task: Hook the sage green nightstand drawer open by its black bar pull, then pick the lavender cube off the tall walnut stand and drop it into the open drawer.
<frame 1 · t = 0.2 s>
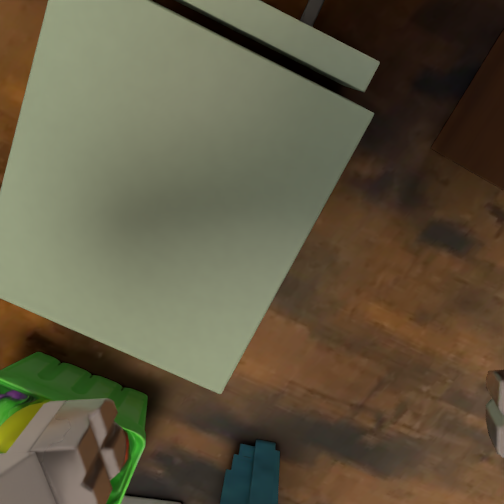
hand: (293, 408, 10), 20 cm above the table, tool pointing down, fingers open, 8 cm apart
drawer: (212, 103, 22), point 5 cm above the table, slide at 0.5 cm
handheld gaming console: (249, 480, 37), on the table
sage green nightstand: (198, 166, 28), on the table
fruit basket: (87, 389, 36), on the table
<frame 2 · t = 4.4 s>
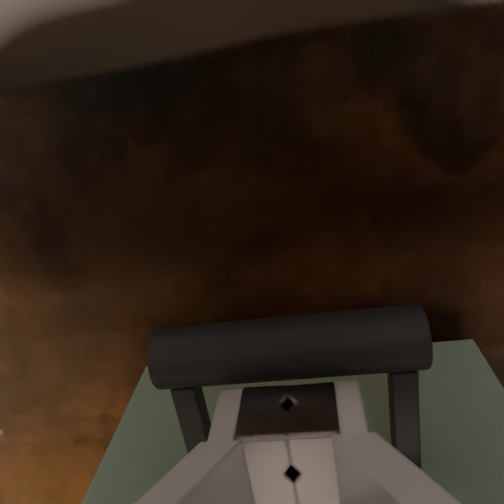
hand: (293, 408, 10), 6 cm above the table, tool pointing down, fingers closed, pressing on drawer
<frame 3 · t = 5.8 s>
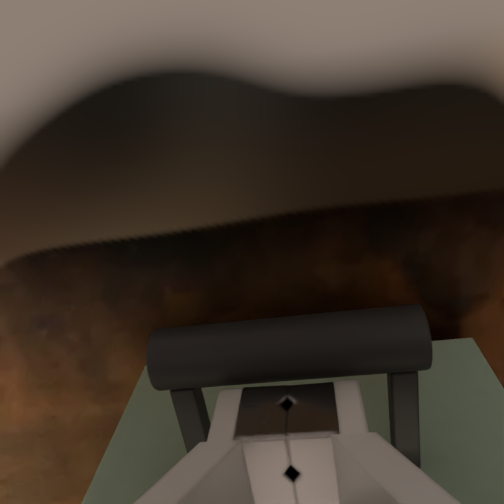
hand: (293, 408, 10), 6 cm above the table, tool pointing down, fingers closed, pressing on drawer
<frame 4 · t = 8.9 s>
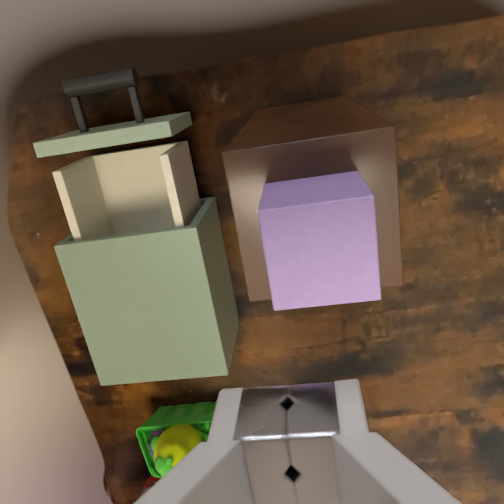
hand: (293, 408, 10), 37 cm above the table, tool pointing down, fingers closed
lavender cube: (316, 221, 23), point 23 cm above the table, touching stand
drawer: (130, 178, 42), point 5 cm above the table, slide at 7.3 cm
soda can: (173, 480, 62), on the table
sage green nightstand: (171, 269, 50), on the table
fruit basket: (197, 413, 57), on the table
stand: (305, 146, 44), on the table
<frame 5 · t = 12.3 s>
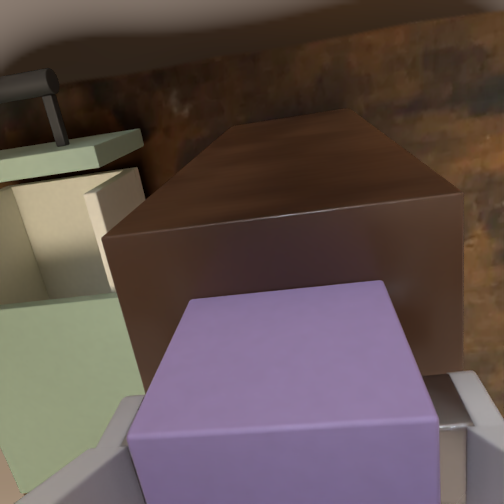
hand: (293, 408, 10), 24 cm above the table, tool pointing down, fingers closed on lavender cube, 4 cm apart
lavender cube: (295, 370, 11), point 23 cm above the table, touching gripper, stand
drawer: (55, 219, 30), point 5 cm above the table, slide at 7.3 cm
sage green nightstand: (124, 328, 39), on the table
stand: (296, 175, 33), on the table
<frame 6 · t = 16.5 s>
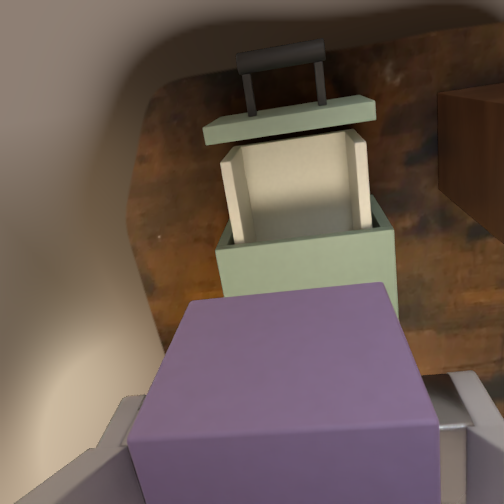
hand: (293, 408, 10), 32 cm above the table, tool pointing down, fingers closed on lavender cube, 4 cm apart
lavender cube: (295, 371, 11), point 31 cm above the table, touching gripper
drawer: (295, 171, 36), point 5 cm above the table, slide at 7.3 cm
sage green nightstand: (310, 277, 44), on the table
stand: (488, 136, 38), on the table
when the fingers open (12 cm above the table, at t = 20.9 s): lavender cube drops 9 cm, resting on drawer.
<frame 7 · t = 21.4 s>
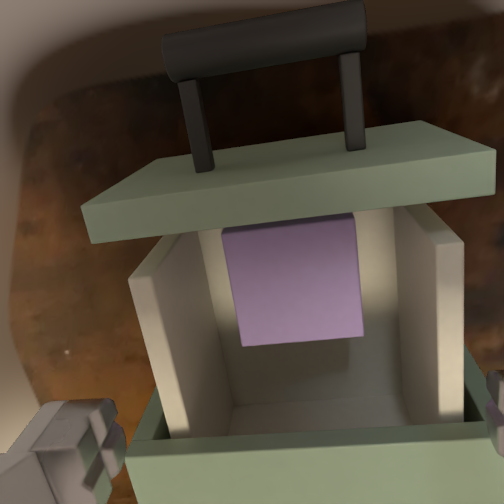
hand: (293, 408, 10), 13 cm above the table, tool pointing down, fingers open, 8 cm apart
lavender cube: (295, 242, 20), point 2 cm above the table, touching drawer
drawer: (296, 275, 18), point 5 cm above the table, slide at 7.3 cm, touching lavender cube
sage green nightstand: (320, 421, 26), on the table
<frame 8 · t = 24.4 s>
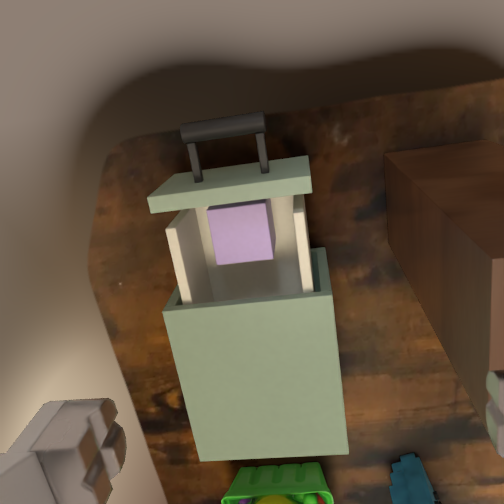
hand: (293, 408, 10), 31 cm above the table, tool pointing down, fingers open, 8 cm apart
lavender cube: (246, 217, 39), point 2 cm above the table, touching drawer
drawer: (243, 231, 37), point 5 cm above the table, slide at 7.3 cm, touching lavender cube
handheld gaming console: (414, 484, 51), on the table
sage green nightstand: (267, 323, 45), on the table
fruit basket: (281, 475, 52), on the table
stand: (434, 194, 39), on the table
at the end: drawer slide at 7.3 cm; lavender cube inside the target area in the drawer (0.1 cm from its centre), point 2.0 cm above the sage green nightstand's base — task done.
